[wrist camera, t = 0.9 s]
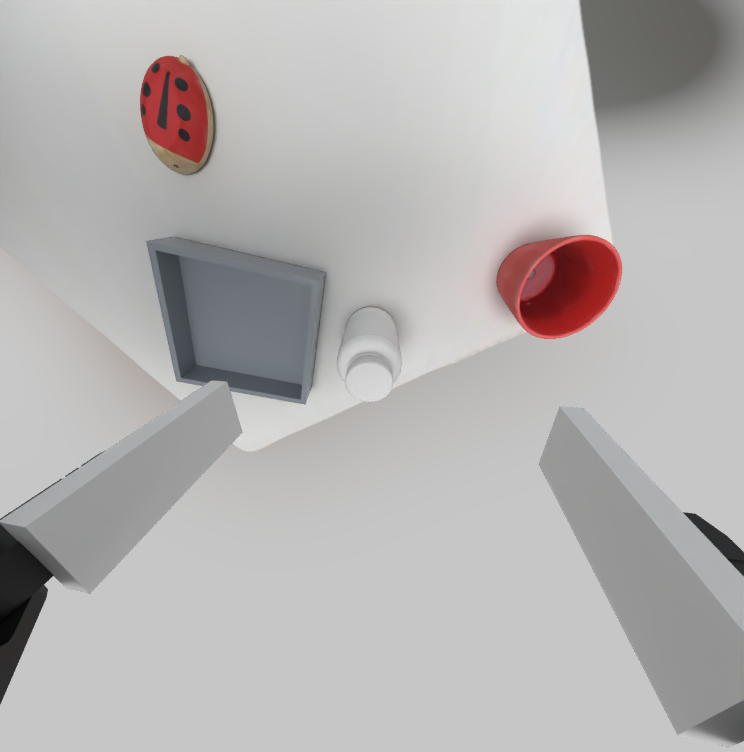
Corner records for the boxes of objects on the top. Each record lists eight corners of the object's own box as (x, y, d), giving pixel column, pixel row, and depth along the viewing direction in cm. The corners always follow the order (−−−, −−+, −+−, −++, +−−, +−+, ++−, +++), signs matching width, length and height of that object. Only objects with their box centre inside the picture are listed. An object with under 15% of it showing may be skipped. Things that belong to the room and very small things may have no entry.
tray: (195, 364, 45) (176, 381, 41) (174, 236, 35) (146, 241, 30) (311, 386, 47) (305, 404, 43) (325, 272, 37) (319, 281, 33)
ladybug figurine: (150, 156, 30) (125, 151, 28) (152, 38, 26) (123, 16, 23) (210, 188, 32) (193, 186, 29) (223, 82, 27) (204, 66, 24)
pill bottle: (398, 306, 39) (408, 353, 27) (394, 353, 44) (401, 414, 31) (345, 303, 39) (330, 350, 27) (346, 352, 44) (333, 411, 31)
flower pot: (580, 226, 33) (645, 233, 25) (551, 310, 39) (597, 338, 31) (494, 230, 34) (532, 237, 26) (479, 313, 40) (506, 341, 32)
